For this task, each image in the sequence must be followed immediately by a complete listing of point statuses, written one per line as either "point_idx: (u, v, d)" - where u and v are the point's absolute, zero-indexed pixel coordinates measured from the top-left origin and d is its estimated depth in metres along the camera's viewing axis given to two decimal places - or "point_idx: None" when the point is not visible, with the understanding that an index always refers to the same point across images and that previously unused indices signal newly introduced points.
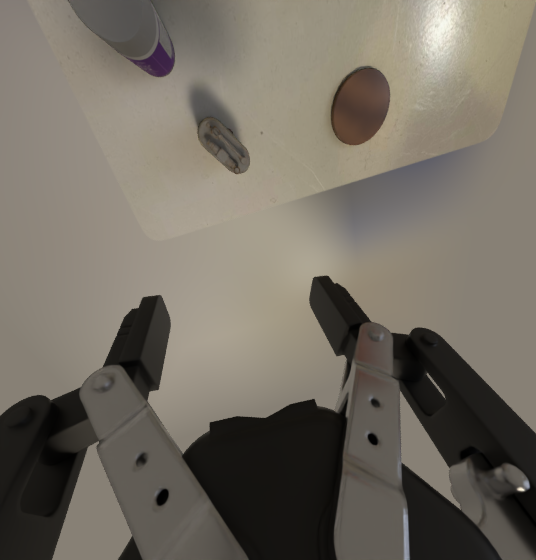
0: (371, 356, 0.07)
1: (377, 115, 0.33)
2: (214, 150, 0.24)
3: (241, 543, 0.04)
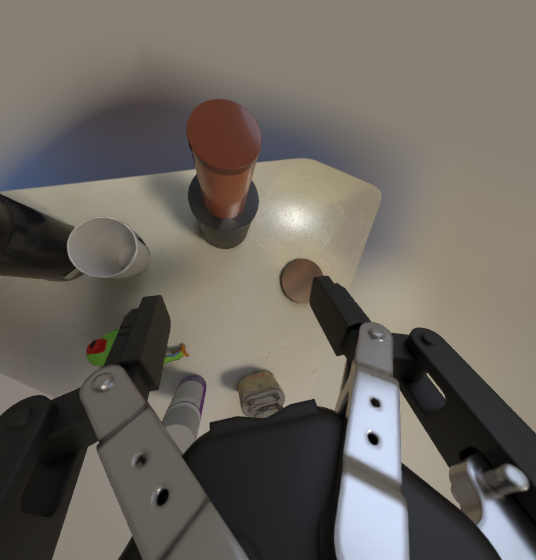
0: (371, 356, 0.07)
1: (313, 271, 0.44)
2: (260, 417, 0.31)
3: (241, 543, 0.04)
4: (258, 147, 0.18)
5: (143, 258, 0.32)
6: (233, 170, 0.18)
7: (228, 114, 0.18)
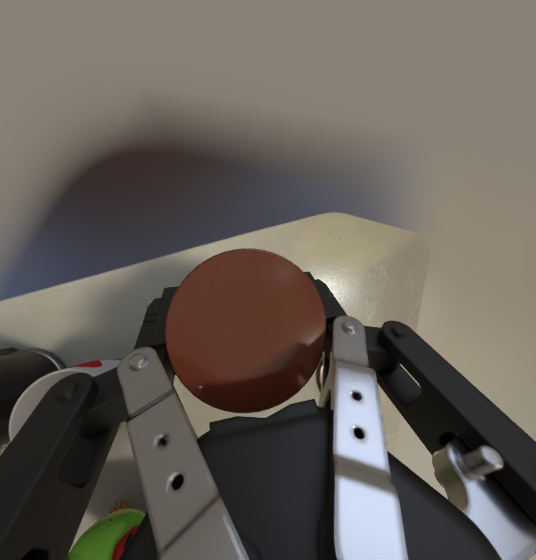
0: (347, 349, 0.08)
1: None
2: None
3: (246, 547, 0.04)
4: (322, 339, 0.09)
5: None
6: None
7: (252, 280, 0.08)
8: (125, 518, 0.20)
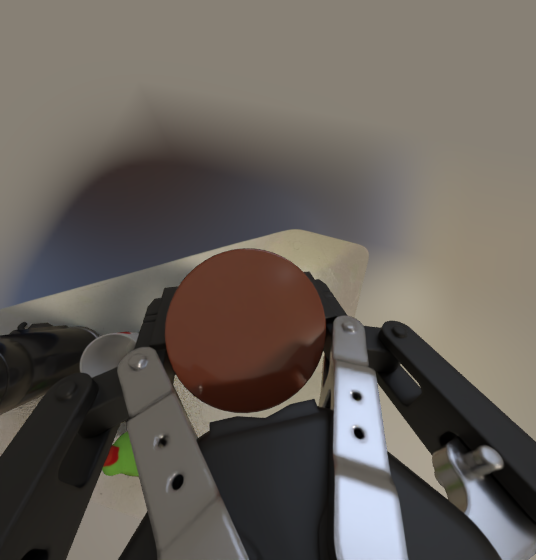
0: (347, 349, 0.08)
1: None
2: None
3: (246, 547, 0.04)
4: (321, 339, 0.09)
5: None
6: None
7: (252, 280, 0.08)
8: None
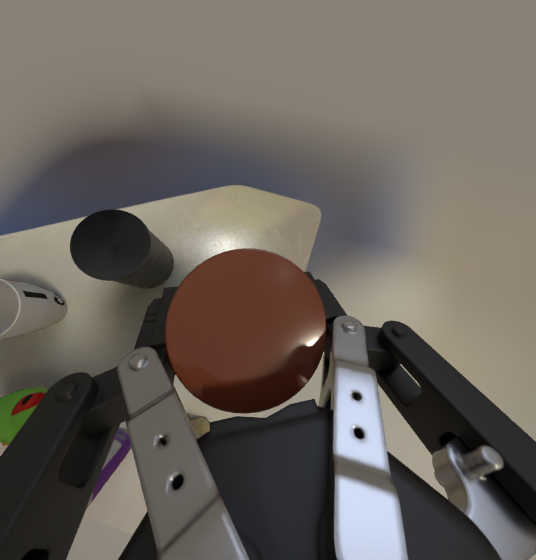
0: (347, 349, 0.08)
1: None
2: None
3: (246, 547, 0.04)
4: (322, 339, 0.08)
5: (39, 313, 0.30)
6: None
7: (252, 280, 0.08)
8: (32, 389, 0.28)
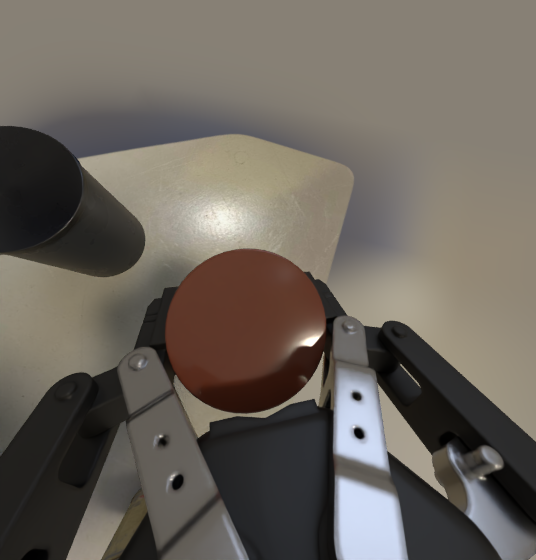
0: (347, 349, 0.08)
1: None
2: None
3: (246, 547, 0.04)
4: (322, 339, 0.08)
5: None
6: None
7: (252, 281, 0.08)
8: None
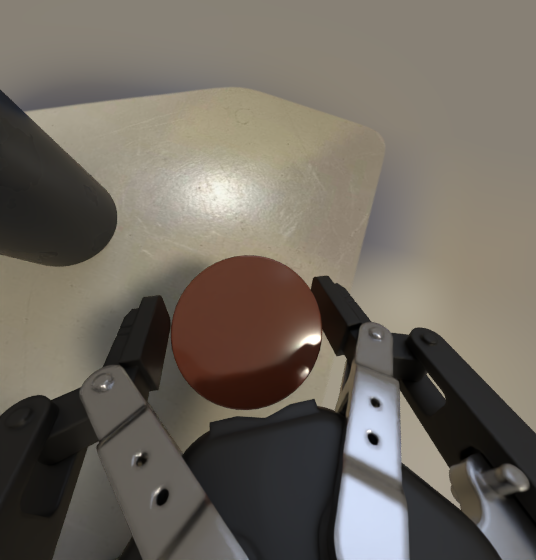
0: (371, 356, 0.07)
1: None
2: None
3: (241, 543, 0.04)
4: (318, 341, 0.09)
5: None
6: None
7: (252, 285, 0.09)
8: None
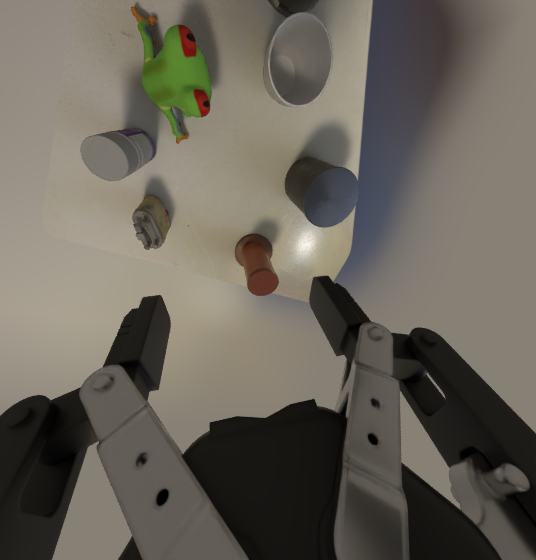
0: (371, 356, 0.07)
1: None
2: (137, 230, 0.34)
3: (241, 543, 0.04)
4: (258, 295, 0.43)
5: (284, 105, 0.30)
6: None
7: (271, 284, 0.42)
8: None
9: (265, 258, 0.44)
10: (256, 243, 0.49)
